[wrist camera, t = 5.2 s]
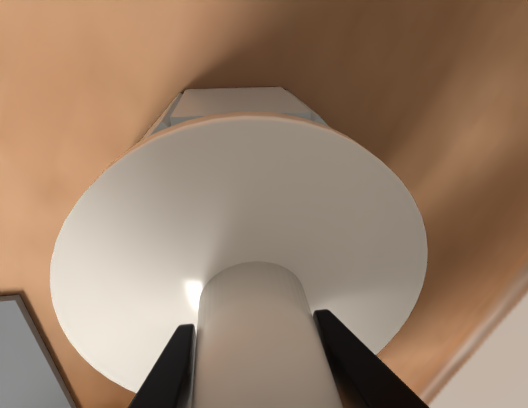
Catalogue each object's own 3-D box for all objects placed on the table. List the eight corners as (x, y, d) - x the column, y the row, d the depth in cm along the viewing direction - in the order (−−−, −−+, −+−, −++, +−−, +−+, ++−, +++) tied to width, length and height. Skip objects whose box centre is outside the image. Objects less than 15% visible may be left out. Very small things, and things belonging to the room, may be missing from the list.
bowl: (330, 269, 19) (363, 339, 14) (150, 285, 18) (129, 367, 13) (352, 84, 14) (414, 108, 10) (105, 91, 13) (46, 121, 8)
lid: (380, 365, 14) (456, 522, 9) (114, 400, 12) (59, 598, 8) (449, 103, 8) (700, 179, 4) (1, 119, 7) (-330, 251, 3)
